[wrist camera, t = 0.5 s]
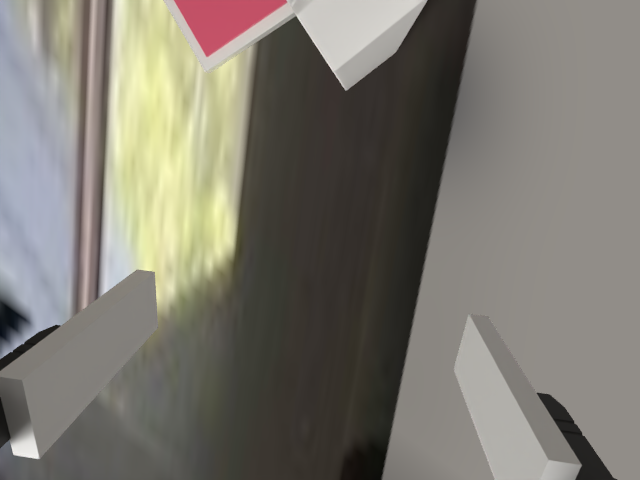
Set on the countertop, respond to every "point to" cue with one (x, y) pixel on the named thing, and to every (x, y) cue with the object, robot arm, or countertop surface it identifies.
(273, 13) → the ink pad
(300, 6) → the milk
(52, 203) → the countertop surface
